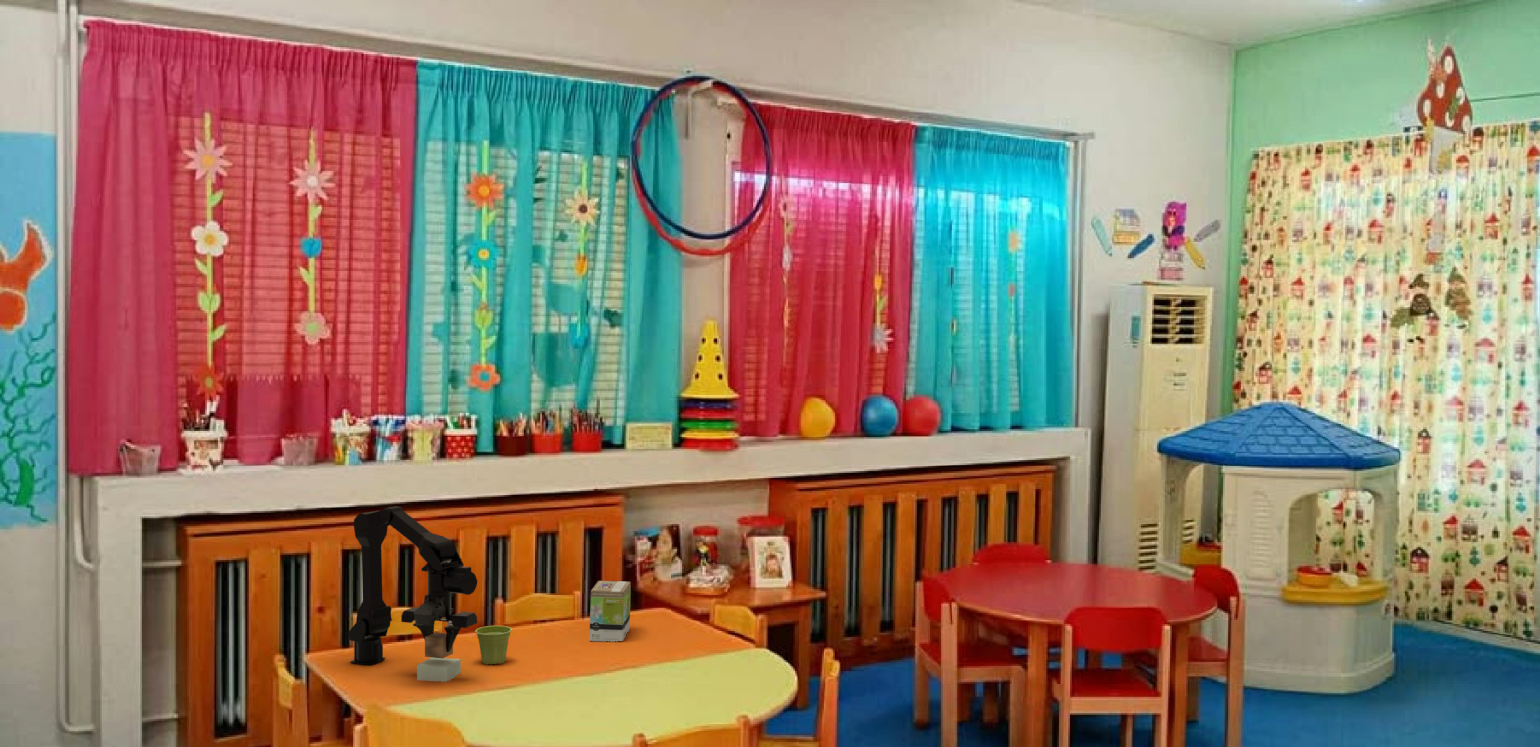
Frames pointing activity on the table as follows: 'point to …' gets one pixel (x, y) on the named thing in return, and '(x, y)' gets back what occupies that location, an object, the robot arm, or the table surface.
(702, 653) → the table surface
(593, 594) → the tea box
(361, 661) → the robot arm
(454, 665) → the sage block
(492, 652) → the plant pot
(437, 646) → the walnut cube
